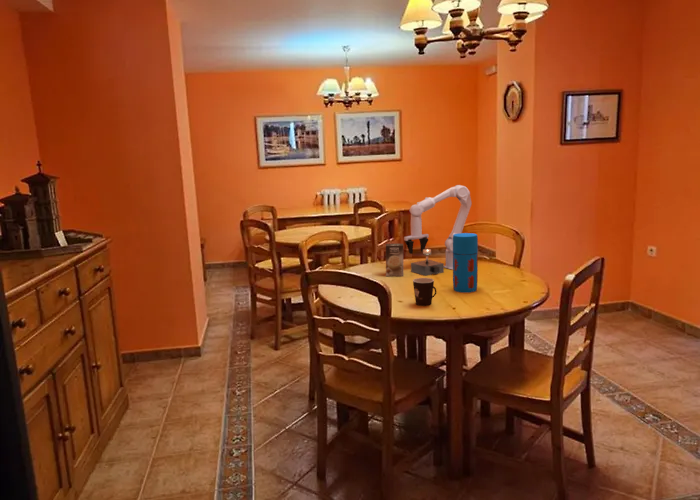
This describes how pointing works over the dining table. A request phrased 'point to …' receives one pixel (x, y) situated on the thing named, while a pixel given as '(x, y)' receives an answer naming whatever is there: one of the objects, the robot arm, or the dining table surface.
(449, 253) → the robot arm
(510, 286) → the dining table surface
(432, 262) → the grey flat box
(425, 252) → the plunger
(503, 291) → the dining table surface
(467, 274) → the thermos
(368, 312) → the dining table surface
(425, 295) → the coffee mug
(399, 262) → the coffee box
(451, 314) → the dining table surface
